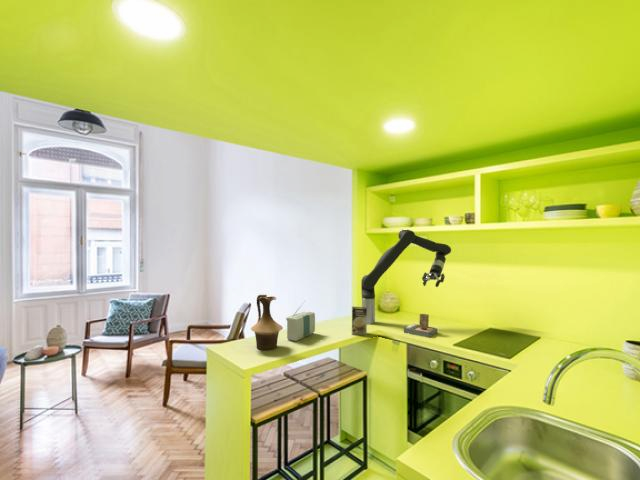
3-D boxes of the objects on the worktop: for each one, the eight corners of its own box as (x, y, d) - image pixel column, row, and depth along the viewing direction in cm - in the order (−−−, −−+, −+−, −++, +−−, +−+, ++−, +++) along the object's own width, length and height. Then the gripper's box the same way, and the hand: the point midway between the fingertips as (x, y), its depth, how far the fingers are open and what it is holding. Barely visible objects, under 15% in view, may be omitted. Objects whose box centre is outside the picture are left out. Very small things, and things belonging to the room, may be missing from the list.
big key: (412, 333, 197) (412, 329, 197) (420, 329, 205) (420, 326, 205) (426, 335, 191) (426, 332, 191) (434, 332, 199) (434, 328, 199)
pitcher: (243, 347, 170) (243, 294, 170) (267, 340, 183) (267, 291, 183) (265, 354, 159) (265, 298, 159) (289, 346, 172) (289, 294, 172)
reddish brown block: (419, 328, 198) (419, 314, 198) (422, 328, 201) (422, 313, 201) (425, 330, 195) (425, 315, 196) (428, 329, 198) (428, 314, 199)
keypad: (403, 332, 200) (403, 326, 200) (413, 328, 209) (413, 322, 209) (428, 337, 189) (428, 331, 189) (437, 333, 198) (437, 326, 198)
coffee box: (351, 334, 194) (351, 308, 195) (351, 332, 201) (351, 306, 201) (366, 335, 193) (366, 308, 194) (366, 332, 200) (366, 306, 200)
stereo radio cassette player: (297, 342, 179) (297, 306, 180) (285, 340, 183) (285, 305, 184) (315, 333, 198) (315, 301, 198) (304, 331, 202) (304, 300, 202)
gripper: (425, 263, 227) (418, 281, 218) (445, 264, 217) (438, 282, 209) (429, 270, 231) (421, 288, 222) (448, 271, 221) (442, 290, 212)
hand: (430, 285), depth 215 cm, fingers open, 8 cm apart
